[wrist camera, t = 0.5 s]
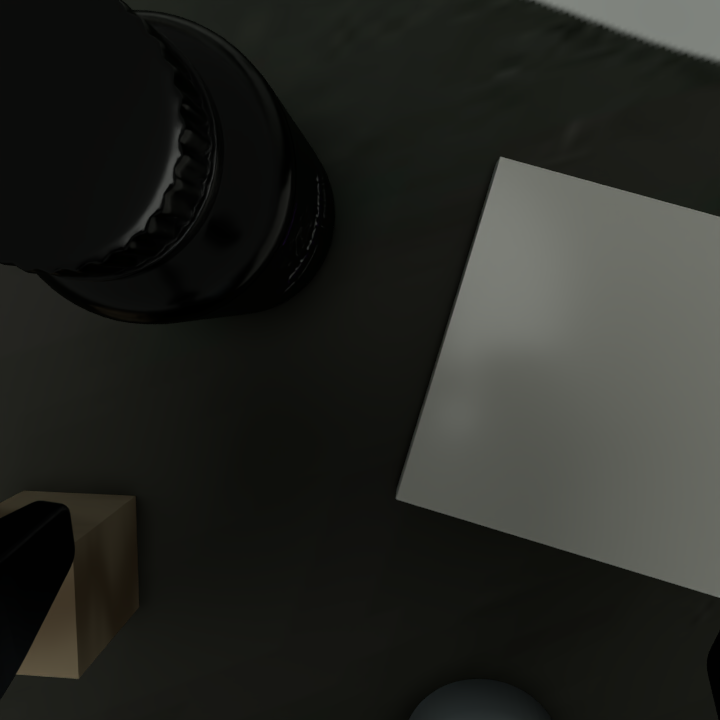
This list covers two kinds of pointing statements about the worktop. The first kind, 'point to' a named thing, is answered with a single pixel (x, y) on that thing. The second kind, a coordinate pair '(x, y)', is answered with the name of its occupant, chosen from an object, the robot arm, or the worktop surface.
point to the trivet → (581, 379)
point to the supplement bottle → (151, 166)
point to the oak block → (86, 583)
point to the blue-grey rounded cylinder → (479, 703)
